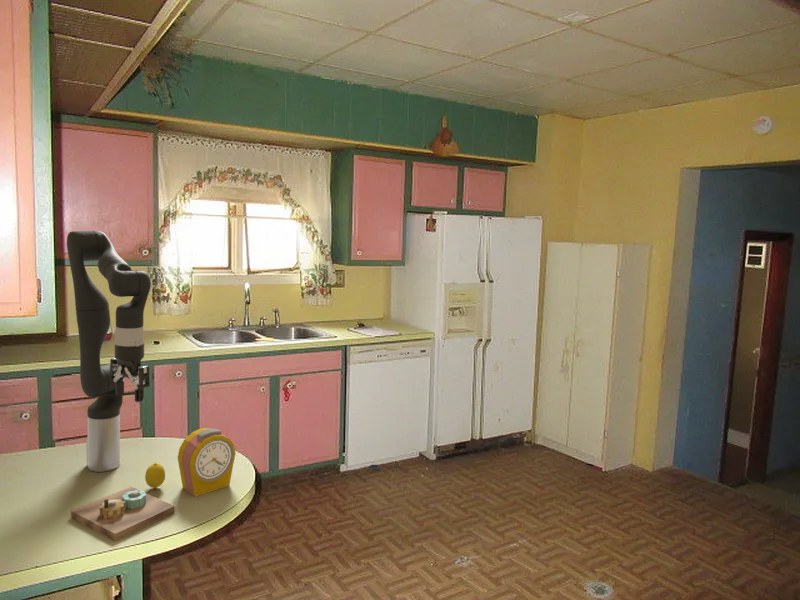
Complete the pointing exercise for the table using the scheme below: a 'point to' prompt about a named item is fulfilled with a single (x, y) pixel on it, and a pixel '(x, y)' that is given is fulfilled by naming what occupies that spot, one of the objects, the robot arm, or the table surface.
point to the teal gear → (134, 499)
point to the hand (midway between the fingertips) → (129, 397)
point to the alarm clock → (206, 461)
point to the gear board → (121, 514)
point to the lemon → (155, 475)
